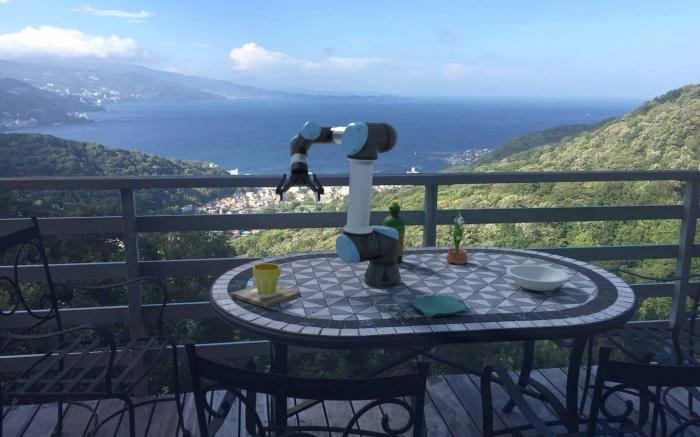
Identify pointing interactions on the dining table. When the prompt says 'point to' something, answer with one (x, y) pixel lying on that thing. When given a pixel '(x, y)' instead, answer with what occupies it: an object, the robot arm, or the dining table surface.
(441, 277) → the dining table surface
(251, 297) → the trivet board
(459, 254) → the potted flower
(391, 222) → the bottle
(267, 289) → the plant pot
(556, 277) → the soup bowl
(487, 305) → the dining table surface
